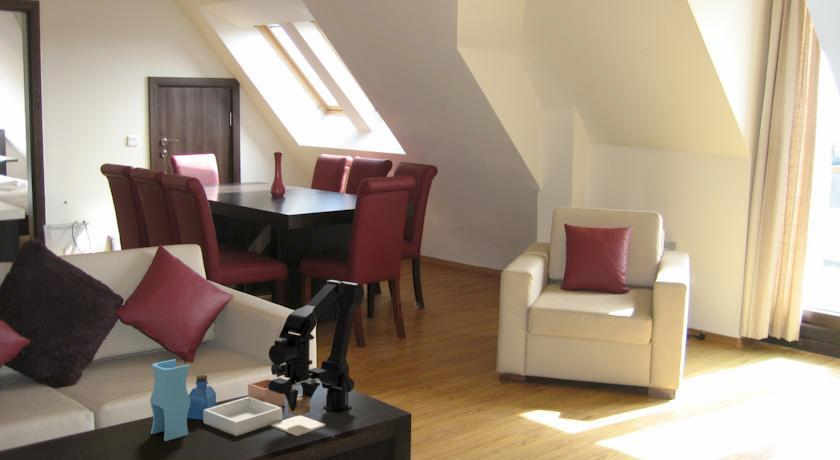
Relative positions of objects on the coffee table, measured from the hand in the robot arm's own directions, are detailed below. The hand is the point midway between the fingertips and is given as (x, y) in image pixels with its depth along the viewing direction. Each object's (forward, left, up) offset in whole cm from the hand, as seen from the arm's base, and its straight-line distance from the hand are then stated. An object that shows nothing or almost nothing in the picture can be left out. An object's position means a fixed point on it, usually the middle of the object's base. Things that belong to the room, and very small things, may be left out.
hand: (298, 408), depth 253 cm
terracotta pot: (-5, -20, -5) cm, 21 cm away
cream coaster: (0, 0, -5) cm, 5 cm away
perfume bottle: (+14, -27, -5) cm, 31 cm away
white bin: (+9, -14, -5) cm, 17 cm away
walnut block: (0, 0, -1) cm, 1 cm away
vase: (+29, -21, -5) cm, 36 cm away
